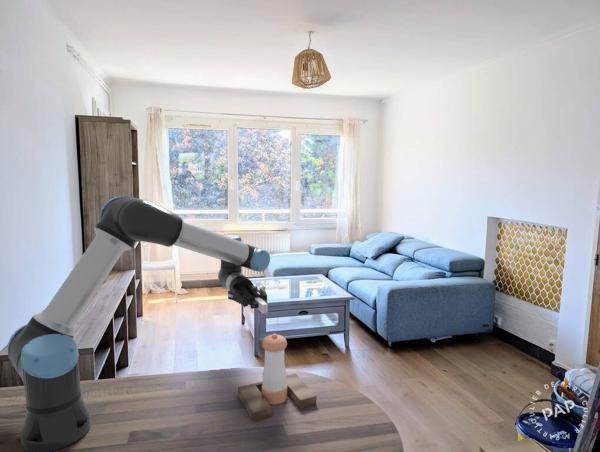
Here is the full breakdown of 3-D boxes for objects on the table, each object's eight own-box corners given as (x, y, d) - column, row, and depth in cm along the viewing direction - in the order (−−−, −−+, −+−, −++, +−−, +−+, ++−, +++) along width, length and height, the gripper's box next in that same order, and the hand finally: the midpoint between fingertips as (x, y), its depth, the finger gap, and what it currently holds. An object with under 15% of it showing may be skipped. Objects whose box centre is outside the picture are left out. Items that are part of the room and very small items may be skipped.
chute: (237, 395, 122) (237, 387, 121) (295, 381, 130) (295, 373, 129) (253, 421, 110) (253, 412, 110) (316, 404, 118) (316, 395, 118)
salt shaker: (267, 388, 126) (267, 327, 122) (290, 393, 123) (291, 331, 120) (257, 401, 119) (257, 337, 116) (281, 406, 116) (281, 341, 113)
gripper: (257, 294, 148) (285, 317, 127) (221, 299, 142) (243, 324, 121) (257, 273, 147) (285, 293, 126) (220, 277, 141) (243, 299, 120)
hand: (265, 308), depth 124 cm, fingers closed
